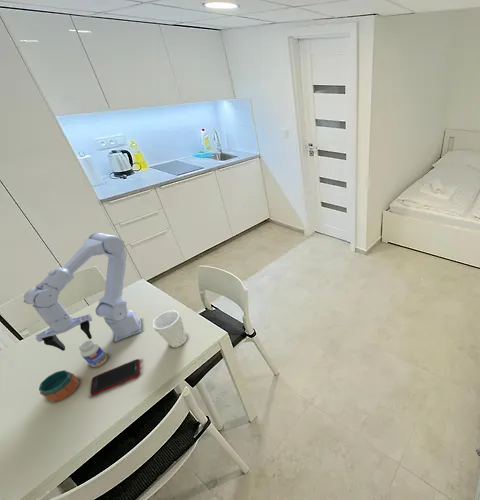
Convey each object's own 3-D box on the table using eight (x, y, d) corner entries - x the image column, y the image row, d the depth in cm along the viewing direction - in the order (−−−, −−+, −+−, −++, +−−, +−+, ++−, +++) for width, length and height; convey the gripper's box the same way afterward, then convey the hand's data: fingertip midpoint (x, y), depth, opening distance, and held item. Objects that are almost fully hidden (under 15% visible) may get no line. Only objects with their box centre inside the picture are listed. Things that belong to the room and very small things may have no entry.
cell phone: (93, 378, 104) (92, 377, 104) (140, 359, 110) (139, 358, 110) (91, 396, 99) (89, 395, 98) (140, 375, 105) (139, 373, 104)
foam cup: (160, 346, 116) (146, 324, 108) (179, 329, 123) (167, 307, 115) (177, 353, 113) (164, 331, 105) (195, 335, 120) (184, 314, 112)
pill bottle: (98, 368, 108) (84, 352, 102) (87, 365, 109) (72, 350, 103) (111, 355, 112) (98, 340, 107) (99, 353, 113) (86, 338, 108)
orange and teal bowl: (80, 373, 106) (71, 364, 103) (77, 393, 100) (68, 384, 97) (50, 385, 102) (40, 377, 99) (45, 407, 96) (34, 398, 93)
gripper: (82, 300, 104) (100, 326, 112) (27, 320, 96) (51, 347, 103) (83, 311, 100) (102, 337, 107) (26, 333, 92) (51, 359, 99)
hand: (77, 342), depth 105 cm, fingers open, 7 cm apart
